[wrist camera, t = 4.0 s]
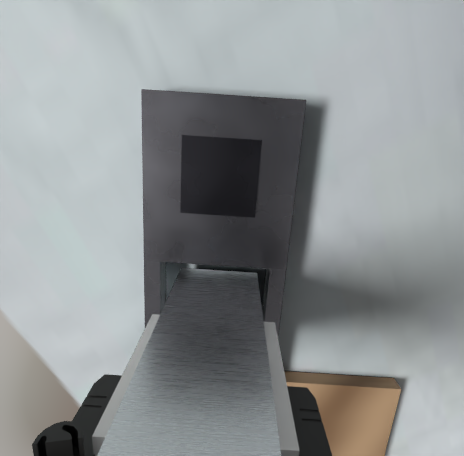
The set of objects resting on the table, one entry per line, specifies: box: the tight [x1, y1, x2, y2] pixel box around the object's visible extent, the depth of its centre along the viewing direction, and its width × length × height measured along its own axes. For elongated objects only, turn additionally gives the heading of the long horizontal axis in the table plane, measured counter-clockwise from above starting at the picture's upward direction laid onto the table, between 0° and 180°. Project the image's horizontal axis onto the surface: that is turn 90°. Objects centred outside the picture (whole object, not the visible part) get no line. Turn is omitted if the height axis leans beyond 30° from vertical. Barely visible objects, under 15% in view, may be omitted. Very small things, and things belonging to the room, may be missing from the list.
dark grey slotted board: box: [142, 89, 306, 336], centre depth 18 cm, size 8×18×2 cm, turn 176°
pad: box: [284, 371, 401, 456], centre depth 22 cm, size 8×8×1 cm
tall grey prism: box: [97, 268, 281, 456], centre depth 13 cm, size 4×4×12 cm
